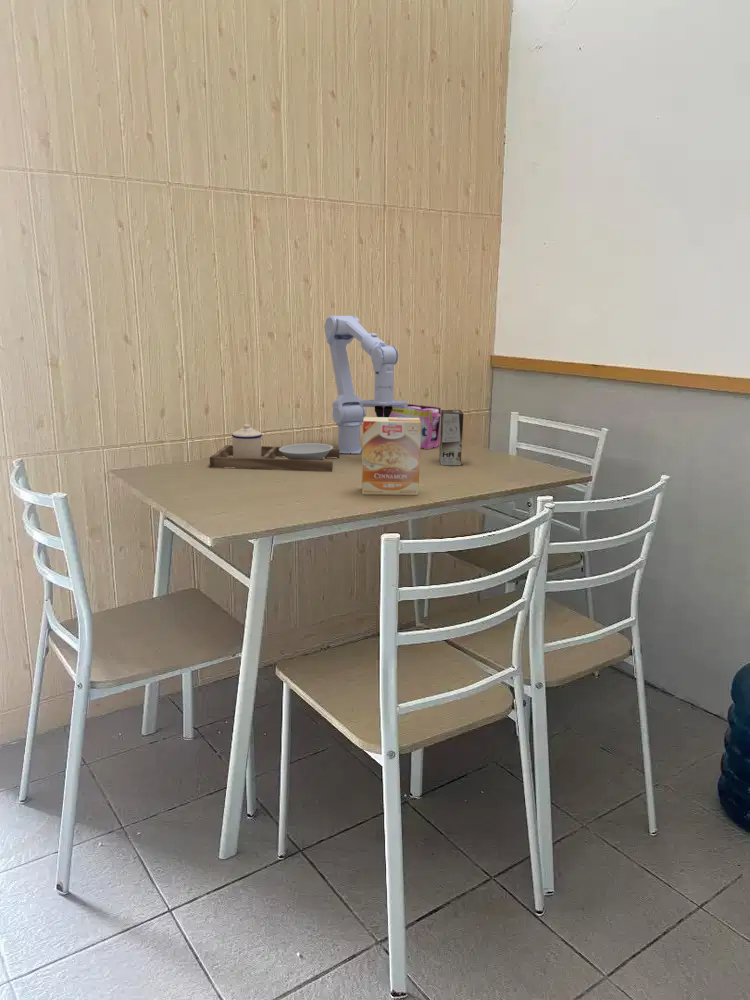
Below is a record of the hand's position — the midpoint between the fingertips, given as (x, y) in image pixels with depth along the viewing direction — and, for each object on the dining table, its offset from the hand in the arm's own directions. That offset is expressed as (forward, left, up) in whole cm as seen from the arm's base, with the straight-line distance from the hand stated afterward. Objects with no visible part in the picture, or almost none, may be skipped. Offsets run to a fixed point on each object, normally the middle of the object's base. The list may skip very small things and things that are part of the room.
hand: (383, 430), depth 231 cm
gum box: (-32, +7, -10) cm, 34 cm away
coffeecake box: (+36, +4, -10) cm, 38 cm away
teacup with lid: (+5, -42, -10) cm, 44 cm away
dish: (+6, -23, -10) cm, 26 cm away
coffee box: (-3, +21, -10) cm, 23 cm away
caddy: (+5, -32, -10) cm, 34 cm away
